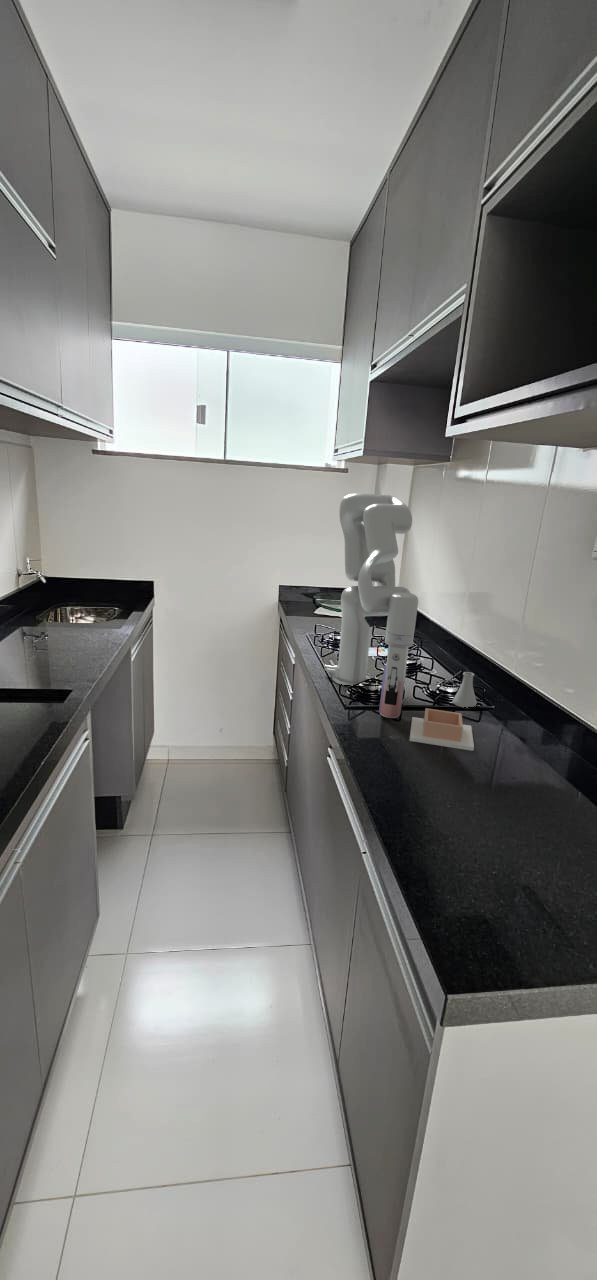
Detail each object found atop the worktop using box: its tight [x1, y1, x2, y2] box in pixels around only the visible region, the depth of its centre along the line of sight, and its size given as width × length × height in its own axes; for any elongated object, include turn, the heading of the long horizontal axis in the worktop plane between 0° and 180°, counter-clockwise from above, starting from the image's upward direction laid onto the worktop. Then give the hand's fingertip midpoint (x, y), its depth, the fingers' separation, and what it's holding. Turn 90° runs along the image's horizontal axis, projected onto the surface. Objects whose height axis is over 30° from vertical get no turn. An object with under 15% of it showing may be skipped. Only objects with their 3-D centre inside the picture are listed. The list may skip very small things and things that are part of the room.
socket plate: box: [409, 707, 475, 751], centre depth 154 cm, size 16×14×5 cm
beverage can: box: [378, 661, 407, 719], centre depth 161 cm, size 6×6×15 cm
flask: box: [451, 671, 478, 709], centre depth 176 cm, size 7×7×10 cm
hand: (391, 699), depth 162 cm, fingers closed on beverage can, 6 cm apart
